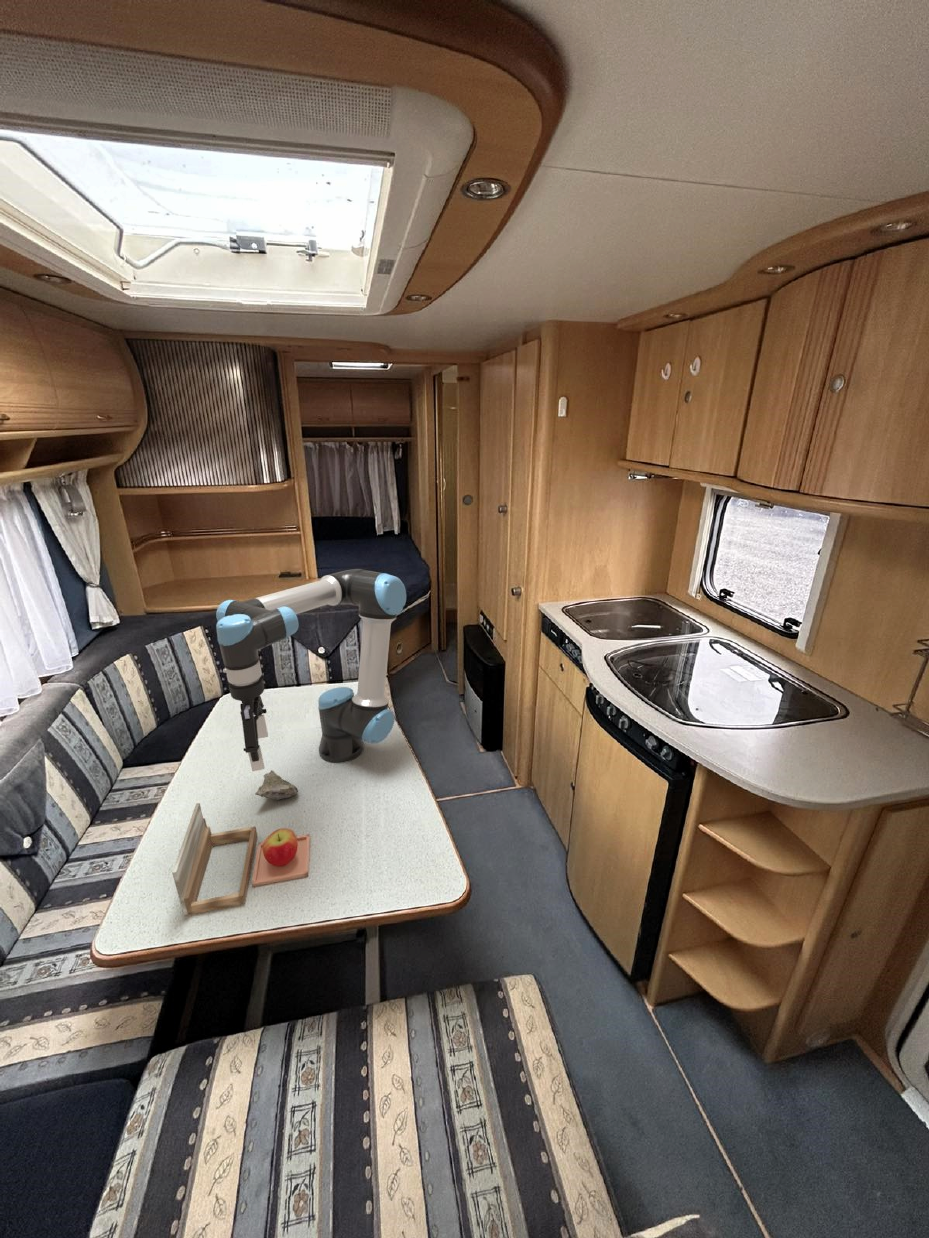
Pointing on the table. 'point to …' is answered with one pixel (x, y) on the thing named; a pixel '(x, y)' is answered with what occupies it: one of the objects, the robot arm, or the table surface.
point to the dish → (290, 871)
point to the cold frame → (196, 859)
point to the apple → (280, 847)
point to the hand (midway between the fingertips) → (260, 752)
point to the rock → (276, 787)
